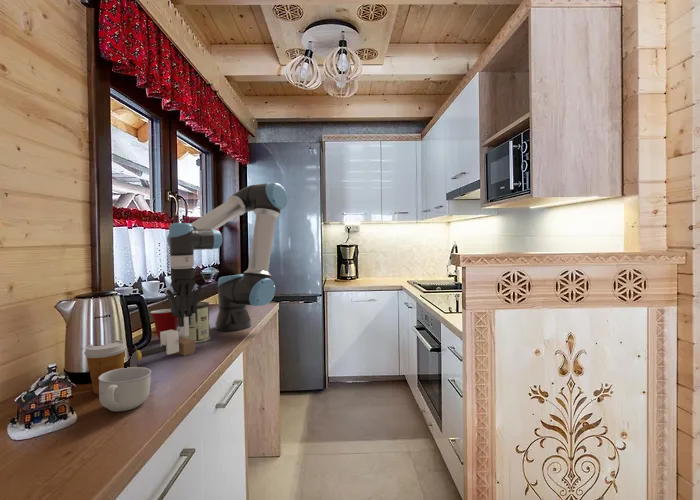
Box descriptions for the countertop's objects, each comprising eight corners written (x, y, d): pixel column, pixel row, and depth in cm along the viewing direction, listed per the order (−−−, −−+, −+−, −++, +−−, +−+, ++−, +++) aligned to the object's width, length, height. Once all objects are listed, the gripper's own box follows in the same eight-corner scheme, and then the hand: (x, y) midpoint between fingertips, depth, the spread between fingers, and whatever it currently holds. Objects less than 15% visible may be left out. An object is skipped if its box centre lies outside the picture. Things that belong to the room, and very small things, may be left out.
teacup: (119, 396, 96) (117, 365, 96) (161, 396, 96) (159, 364, 95) (78, 423, 82) (76, 387, 82) (127, 423, 82) (125, 386, 82)
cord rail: (184, 349, 136) (183, 330, 135) (195, 352, 131) (194, 332, 131) (117, 367, 118) (116, 345, 118) (127, 372, 114) (126, 349, 114)
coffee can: (190, 336, 154) (189, 301, 154) (215, 336, 153) (213, 301, 153) (176, 343, 144) (175, 306, 144) (202, 343, 143) (201, 306, 143)
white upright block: (172, 349, 131) (171, 329, 131) (179, 351, 128) (178, 331, 128) (160, 352, 128) (159, 332, 127) (167, 354, 125) (166, 333, 125)
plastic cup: (180, 334, 158) (178, 305, 157) (183, 340, 149) (182, 309, 148) (150, 338, 152) (149, 308, 152) (152, 344, 143) (151, 313, 143)
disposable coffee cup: (109, 381, 107) (107, 339, 106) (137, 383, 104) (134, 340, 104) (77, 395, 98) (74, 349, 97) (106, 398, 95) (104, 351, 95)
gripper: (169, 269, 124) (172, 341, 125) (205, 266, 134) (208, 332, 135) (158, 268, 128) (160, 337, 129) (193, 266, 139) (196, 329, 140)
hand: (185, 335), depth 132 cm, fingers closed
